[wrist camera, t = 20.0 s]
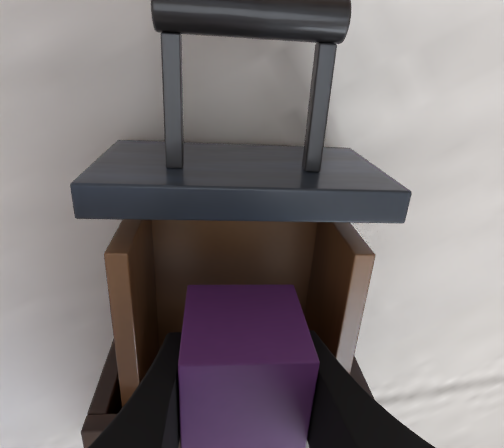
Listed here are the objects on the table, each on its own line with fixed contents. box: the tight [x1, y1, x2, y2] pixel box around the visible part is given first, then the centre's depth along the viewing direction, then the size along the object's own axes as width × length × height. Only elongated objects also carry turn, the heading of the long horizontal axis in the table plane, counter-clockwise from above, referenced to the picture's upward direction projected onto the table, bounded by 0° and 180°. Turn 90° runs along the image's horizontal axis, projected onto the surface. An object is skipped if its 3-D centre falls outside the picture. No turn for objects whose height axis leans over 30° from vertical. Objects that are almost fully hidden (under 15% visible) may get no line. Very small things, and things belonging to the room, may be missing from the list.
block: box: [178, 285, 320, 448], centre depth 13 cm, size 4×4×4 cm
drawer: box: [70, 0, 411, 408], centre depth 16 cm, size 18×11×6 cm, turn 177°
